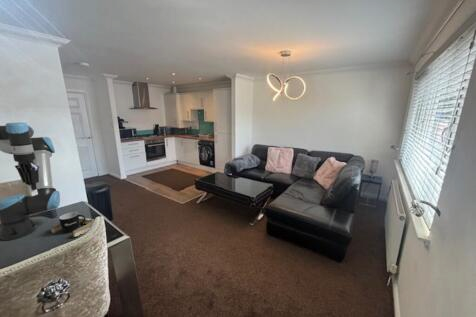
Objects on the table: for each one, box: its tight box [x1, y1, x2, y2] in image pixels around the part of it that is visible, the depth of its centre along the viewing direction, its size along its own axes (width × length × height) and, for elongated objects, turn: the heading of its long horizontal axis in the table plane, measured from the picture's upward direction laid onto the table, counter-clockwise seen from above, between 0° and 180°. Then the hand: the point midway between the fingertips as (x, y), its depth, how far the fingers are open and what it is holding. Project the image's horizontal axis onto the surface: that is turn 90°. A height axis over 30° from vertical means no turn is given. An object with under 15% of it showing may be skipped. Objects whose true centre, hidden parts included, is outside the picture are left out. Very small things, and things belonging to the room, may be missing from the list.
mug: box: [58, 211, 86, 234], centre depth 123 cm, size 12×9×10 cm
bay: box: [50, 216, 96, 238], centre depth 123 cm, size 19×14×4 cm
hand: (34, 195), depth 106 cm, fingers closed
